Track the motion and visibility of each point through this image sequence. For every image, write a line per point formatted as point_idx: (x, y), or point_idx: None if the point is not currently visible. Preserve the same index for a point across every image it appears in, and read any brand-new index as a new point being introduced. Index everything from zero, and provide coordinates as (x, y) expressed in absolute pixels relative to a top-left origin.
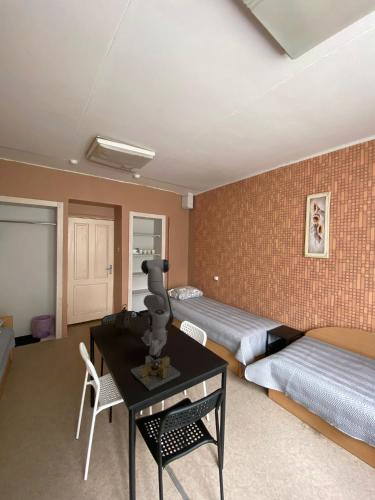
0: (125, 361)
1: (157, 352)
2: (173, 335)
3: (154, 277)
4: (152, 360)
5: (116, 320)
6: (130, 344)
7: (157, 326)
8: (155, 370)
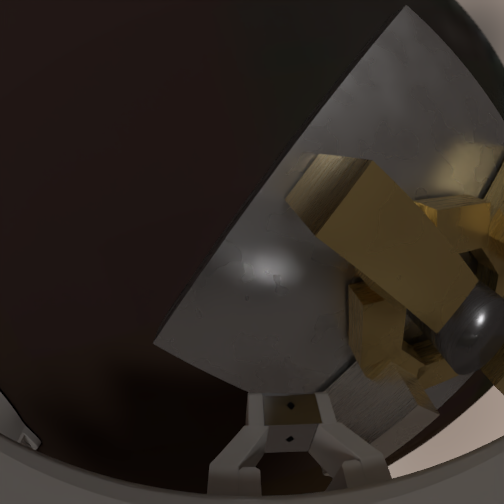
0: (267, 488)
1: (374, 459)
2: None
3: None
4: (422, 399)
5: None
6: None
7: None
8: (500, 283)
